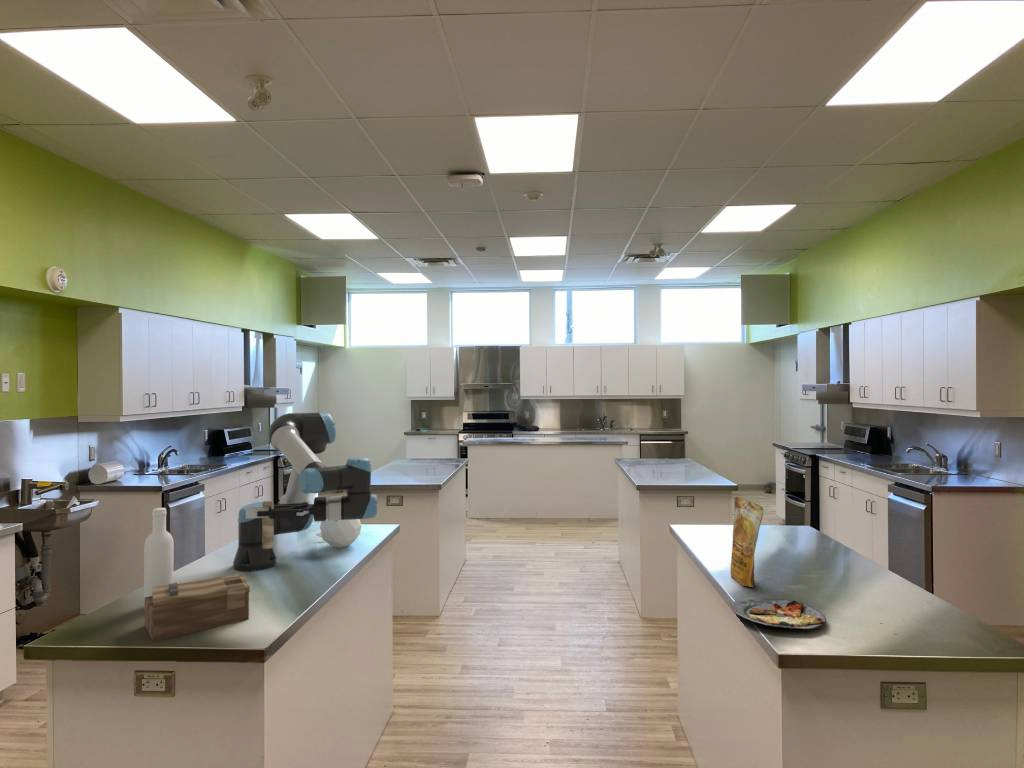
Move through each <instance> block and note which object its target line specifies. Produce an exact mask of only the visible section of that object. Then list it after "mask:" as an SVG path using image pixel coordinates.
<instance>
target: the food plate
mask: <svg viewBox="0 0 1024 768" xmlns="http://www.w3.org/2000/svg"><path fill="white" fill-rule="evenodd" d="M761 604H764V605H765V606H766V605H767V604H772V608H773V610H774V611H773V610H768V609H758V608H752V607H755V606H762V605H761ZM781 606H784V607H781ZM731 607H732V610H733V611H734V613H735V614H736V615H738V616H740V617H742V618H744V619H746V620H749V621H751V622H752V623H756V624H757V623H758V624H762V625H763V626H764V625H765V626H771V627H775V628H785V629H788V628H789V629H790V630H792V629H801V630H805V629H806V630H814V629H815V630H816V629H818V628H821V627H823V626H825V624H826V623H827V618H826V616H825V614H823V613H822V612H821V611H819V610H818V609H815V608H813V607H811V606H809V605H806V604H804V602H801V601H800V602H798V601H796V600H792V601H790V600H787V599H781V598H779V599H778V598H773V597H772V598H770V597H757V596H753V597H752V596H750V597H742V598H741V599H737V600H734V601H733V602H732V603H731ZM750 608H752V609H751V610H749V613H747V611H748V609H750ZM777 613H780V614H782V615H783V616H791V617H777V616H757V615H776V614H777ZM802 613H804V614H807V615H803V616H802V617H801V614H802ZM748 614H749V615H748ZM796 626H797V627H796Z"/></svg>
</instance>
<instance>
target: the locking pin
mask: <svg viewBox="0 0 1024 768" xmlns="http://www.w3.org/2000/svg"><path fill="white" fill-rule="evenodd" d="M265 501H266V500H265ZM261 502H262V508H269V507H271V509H274V505H275V503H274V501H271V500H267V501H266V502H264V501H261ZM274 536H275V535H274V519H270V518H269V517H267V518H262V548H263V549H271V548H273V549H274V548H275V547H274V545H275V544H274V543H275V542H274V539H275V538H274Z"/></svg>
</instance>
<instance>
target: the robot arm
mask: <svg viewBox="0 0 1024 768" xmlns="http://www.w3.org/2000/svg"><path fill="white" fill-rule="evenodd" d="M336 430H337V429H336V424H335V421H334V418H333V416H332V414H330V413H329V412H319V411H317V412H297V413H296V412H295V413H294V412H289V413H285V414H282V415H281V416H278V417H277V418H276V419H274V420H273V422H272V423H271V424H270V426H269V428H268V432H267V437H268V441H269V443H270V445H271V446H272V448H274V449H275V450H276V451H277V452H281V454H282V455H283V456H284V457H285V458H286V460H288V462H289V464H291V471H290V475H289V479H288V483H287V487H286V491H285V494H283V495H281V497H280V499H279V501H278V503H276V504H275V503H274V509H271V507H269V508H262V502H266V500H265V501H257V502H253V503H252V502H251V503H250V504H246V505H244V506H242V507H241V508H240V509H239V511H238V517H237V518H238V519H237V522H238V529H237V530H238V536H237V537H238V538H237V539H238V545H237V546H238V547H237V549H236V553H235V556H234V559H233V562H232V568H233V570H235V571H238V572H256V571H262V570H265V569H270V568H273V567H275V566H276V565H277V555H276V553H275V550H274V547H273V548H271V549H263V548H262V518H267V517H269V518H270V519H274V536H278V535H283V534H292V533H300V532H302V531H306V530H308V529H309V528H310V527H311V525H312V523H313V521H314V522H321V521H325V520H326V519H328V520H329V521H331V520H335V522H338V520H341V519H342V520H352V519H360V520H367V519H374V518H376V517H377V515H378V496H377V494H373V493H372V489H371V484H372V482H371V481H372V480H371V479H372V465H371V460H370V459H369V458H368V457H352V458H348V459H346V464H344V465H335V466H326V465H325V464H324V463H323V462H322V461H321V460H320V456H321V454H323V453H324V452H325V451H326V449H327V445H328V444H329V445H330V444H332V443H334V442H335V441H336V436H337V435H336V434H337V432H336ZM342 490H344V491H345V490H346V495H335V496H332V495H331V496H328V497H326V496H316V497H314V499H313V503H312V502H311V500H310V499H309V496H310V494H319V493H320V494H321V493H327V492H334V491H342Z"/></svg>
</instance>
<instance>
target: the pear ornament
mask: <svg viewBox="0 0 1024 768" xmlns="http://www.w3.org/2000/svg"><path fill="white" fill-rule="evenodd" d="M319 528H320V531H319V532H317V533H316V534H315V535H316V536H317V537H319V538H322V540H323V541H324V542H325V543H326V544H328V545H329V546H330V547H332V548H345V547H347V546H350V545H351V544H353V543H354V542H355V541H356V540H357V539H358V537H359V536H360V535H361V530H362V523H361V519H352V520H342V519H341V520H338V522H335V520H331V521H329V520H328V519H326V520H325V521H320V527H319Z"/></svg>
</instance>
